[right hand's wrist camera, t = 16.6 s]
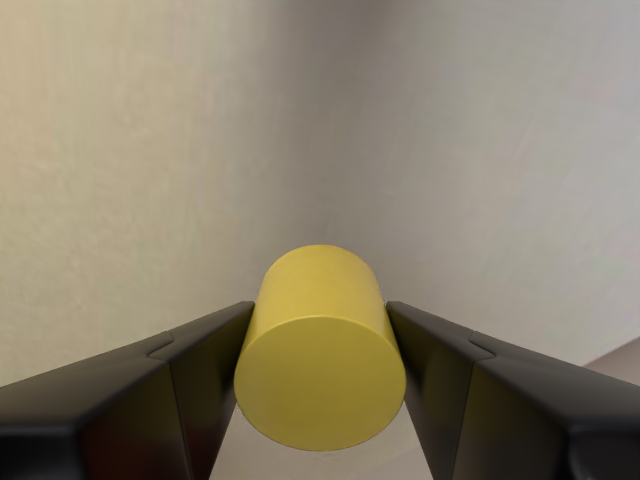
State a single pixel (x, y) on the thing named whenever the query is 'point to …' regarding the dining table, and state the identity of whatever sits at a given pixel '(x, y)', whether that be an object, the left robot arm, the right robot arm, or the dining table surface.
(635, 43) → the dining table surface
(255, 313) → the cylinder
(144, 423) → the right robot arm
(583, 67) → the dining table surface
